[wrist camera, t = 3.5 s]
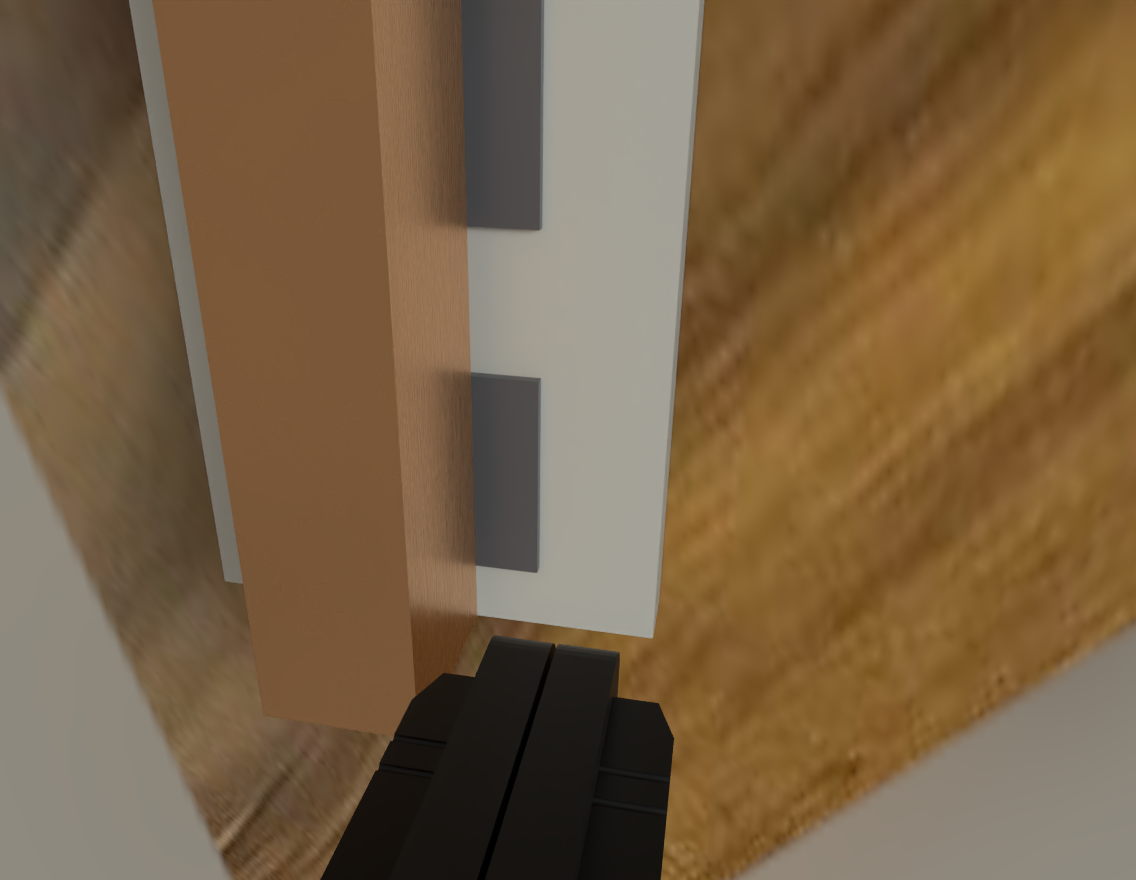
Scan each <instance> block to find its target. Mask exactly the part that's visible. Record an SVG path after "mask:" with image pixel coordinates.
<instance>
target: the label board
mask: <svg viewBox="0 0 1136 880" xmlns="http://www.w3.org/2000/svg"><path fill="white" fill-rule="evenodd" d="M129 5H130V11H131V17H132V23H133V29H134V35H135V41H136V47H137V53H138V59H139V65H140V71H141V77H142V83H143V89H144V95H145V101H146V107H147V113H148V119H149V125H150V131H151V138H152V144H153V150H154V156H155V162H156V168H157V174H158V180H159V186H160V192H161V198H162V204H163V210H164V216H165V222H166V228H167V234H168V240H169V246H170V252H171V258H172V264H173V270H174V277H175V283H176V289H177V295H178V301H179V307H180V313H181V319H182V325H183V331H184V337H185V343H186V349H187V355H188V361H189V367H190V373H191V379H192V385H193V391H194V397H195V403H196V410H197V416H198V422H199V428H200V434H201V440H202V446H203V452H204V458H205V464H206V470H207V476H208V482H209V488H210V494H211V500H212V506H213V512H214V518H215V524H216V530H217V536H218V542H219V549H220V555H221V561H222V567H223V573H224V579H225V581H227V582H234V583H241V584H243V581H242V575H241V568H240V562H239V555H238V549H237V543H236V536H235V530H234V523H233V517H232V510H231V504H230V498H229V491H228V485H227V478H226V472H225V465H224V459H223V453H222V446H221V440H220V433H219V427H218V421H217V414H216V408H215V401H214V395H213V388H212V382H211V376H210V369H209V363H208V356H207V350H206V343H205V337H204V331H203V324H202V318H201V311H200V305H199V299H198V292H197V286H196V279H195V273H194V266H193V260H192V254H191V247H190V241H189V234H188V228H187V221H186V215H185V209H184V202H183V196H182V189H181V183H180V176H179V170H178V164H177V157H176V151H175V144H174V138H173V132H172V125H171V119H170V112H169V106H168V99H167V93H166V87H165V80H164V74H163V67H162V61H161V54H160V48H159V42H158V35H157V29H156V22H155V16H154V9H153V3H152V0H129ZM703 13H704V0H461V19H462V57H463V95H464V133H465V171H466V209H467V247H468V285H469V323H470V361H471V399H472V437H473V475H474V513H475V551H476V589H477V615H481V616H488V617H496V618H503V619H511V620H518V621H526V622H533V623H541V624H548V625H556V626H563V627H571V628H578V629H586V630H593V631H601V632H608V633H616V634H623V635H631V636H638V637H646V638H653V634H654V628H655V622H656V616H657V610H658V604H659V595H660V582H661V569H662V556H663V542H664V529H665V516H666V503H667V490H668V476H669V463H670V450H671V437H672V423H673V410H674V397H675V384H676V370H677V357H678V344H679V331H680V318H681V304H682V291H683V278H684V265H685V251H686V238H687V225H688V212H689V198H690V185H691V172H692V159H693V146H694V132H695V119H696V106H697V93H698V79H699V66H700V53H701V40H702V27H703Z"/></svg>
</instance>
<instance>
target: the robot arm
mask: <svg viewBox="0 0 1136 880" xmlns="http://www.w3.org/2000/svg"><path fill="white" fill-rule="evenodd" d="M619 663H620V654H619V652H614V651H607V650H600V649H592V648H585V647H578V646H570V645H563V644H558V646H557V648H556V647H555V644H553V643H546V642H539V641H531V640H524V639H517V638H509V637H502V636H494V637H492V639H491V641H490V643H489V645H488V647H487V649H486V652H485V654H484V657H483V659H482V661H481V664H480V666H479V668H478V671H477V673H476V675H475V677H469V676H462V675H455V674H448V673H443V674H442V675H440V676H439V677H438V678H437V679H436V680H434V681H433V682H432V683H431V684H430V685H428V686H427V687H426V688H425V689H424V690H422V691H421V692H420V693H419V694H418V695H417V696H415V697H414V698H413V699H412V700H411V702H410V704H409V706H408V708H407V710H406V712H405V714H404V716H403V718H402V720H401V722H400V724H399V726H398V728H397V729H396V731H395V733H394V739H393V741H390V743H389V745H388V747H387V749H386V751H385V753H384V755H383V757H382V759H381V761H380V765H379V769H378V771H377V770H376V771H375V773H374V775H373V777H372V779H371V781H370V783H369V785H368V787H367V789H366V791H365V793H364V795H363V797H362V799H361V801H360V803H359V804H358V806H357V808H356V810H355V812H354V814H353V816H352V818H351V820H350V822H349V824H348V826H347V828H346V830H345V832H344V834H343V836H342V838H341V840H340V842H339V844H338V846H337V848H336V850H335V852H334V854H333V856H332V858H331V860H330V862H329V864H328V866H327V868H326V870H325V872H324V874H323V876H322V878H321V879H320V880H661V870H662V859H663V849H664V838H665V828H666V817H667V807H668V796H669V785H670V775H671V764H672V754H673V743H674V737H673V735H672V733H671V731H670V728H669V726H668V724H667V721H666V719H665V717H664V715H663V712H662V710H661V708H660V705H659V703H653V702H646V701H639V700H632V699H625V698H618V697H617V694H618V679H619Z"/></svg>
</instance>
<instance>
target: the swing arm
mask: <svg viewBox="0 0 1136 880" xmlns="http://www.w3.org/2000/svg"><path fill="white" fill-rule="evenodd" d="M152 3H153V9H154V16H155V22H156V29H157V35H158V42H159V48H160V54H161V61H162V67H163V74H164V80H165V87H166V93H167V99H168V106H169V112H170V119H171V125H172V132H173V138H174V144H175V151H176V157H177V164H178V170H179V176H180V183H181V189H182V196H183V202H184V209H185V215H186V221H187V228H188V234H189V241H190V247H191V254H192V260H193V266H194V273H195V279H196V286H197V292H198V299H199V305H200V311H201V318H202V324H203V331H204V337H205V343H206V350H207V356H208V363H209V369H210V376H211V382H212V388H213V395H214V401H215V408H216V414H217V421H218V427H219V433H220V440H221V446H222V453H223V459H224V465H225V472H226V478H227V485H228V491H229V498H230V504H231V510H232V517H233V523H234V530H235V536H236V543H237V549H238V555H239V562H240V568H241V575H242V581H243V588H244V594H245V600H246V607H247V613H248V620H249V626H250V632H251V639H252V645H253V652H254V658H255V665H256V671H257V677H258V684H259V690H260V697H261V703H262V710H263V716H269V717H275V718H282V719H288V720H294V721H300V722H307V723H313V724H319V725H325V726H332V727H338V728H344V729H351V730H357V731H363V732H369V733H376V734H382V735H388V736H394V733H395V731H396V729H397V728H398V726H399V724H400V722H401V720H402V718H403V716H404V714H405V712H406V710H407V708H408V706H409V704H410V702H411V700H412V699H413V698H414V697H415V696H417V695H418V694H419V693H420V692H421V691H422V690H424V689H425V688H426V687H427V686H428V685H430V684H431V683H432V682H433V681H434V680H436V679H437V678H438V677H439V676H440V675H442V674H443V673H448V674H451V672H452V670H453V668H454V666H455V663H456V661H457V659H458V657H459V655H460V653H461V651H462V649H463V647H464V645H465V643H466V641H467V639H468V637H469V635H470V632H471V630H472V628H473V626H474V624H475V622H476V620H477V589H476V551H475V513H474V475H473V437H472V399H471V361H470V323H469V285H468V247H467V209H466V171H465V133H464V95H463V57H462V19H461V0H152Z"/></svg>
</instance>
